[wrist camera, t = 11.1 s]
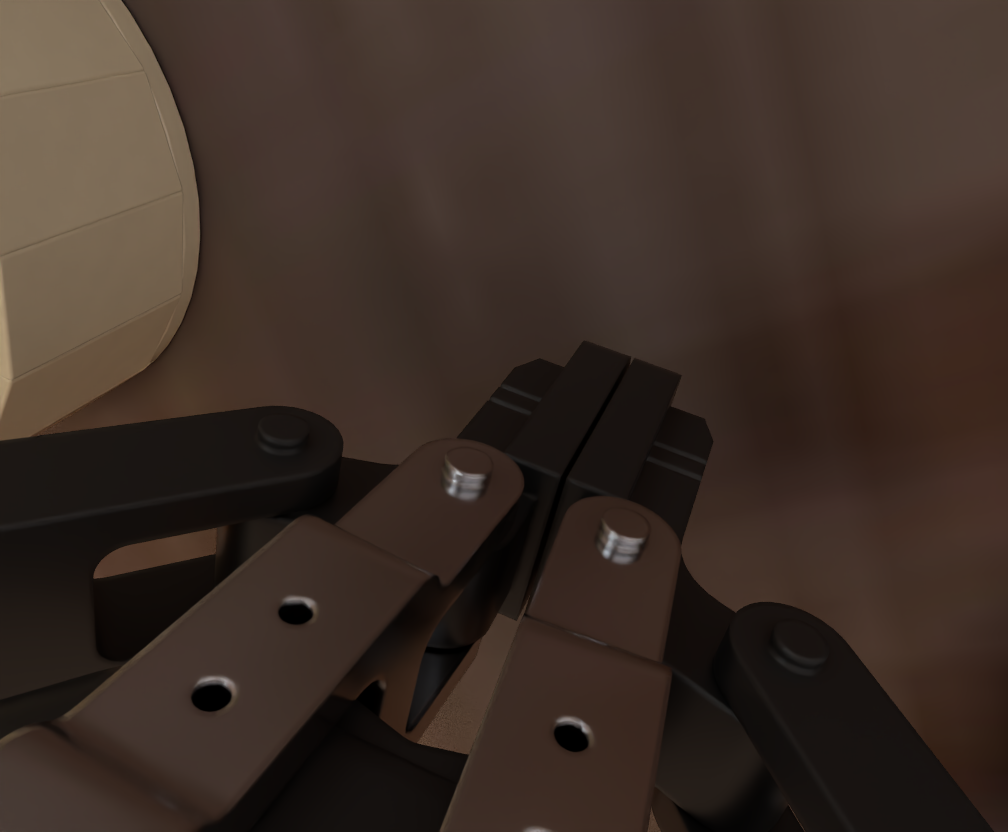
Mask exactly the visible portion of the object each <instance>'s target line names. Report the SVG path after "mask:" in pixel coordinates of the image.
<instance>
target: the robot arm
mask: <svg viewBox="0 0 1008 832" xmlns="http://www.w3.org/2000/svg"><path fill="white" fill-rule="evenodd" d="M630 361H631V357H630V356H627V355H624V354H621V353H619V352H616V351H613V350H610V349H608V348H605V347H602V346H599V345H596V344H594V343H591V342H588V341H585V340H584V341H583V342H582V344H581V345H580V346H579V348H578V349H577V351H576V352H575V353H574V355H573V356H572V357H571V359H570V360H569V362H568V363H567V364H566V366H565V367H562V366H559V365H556V364H553V363H551V362H548V361H545V360H542V359H540V358H539V359H537V360H534V361H531V362H529V363H526V364H523V365H521V366H518V367H515V368H514V369H513V370H512V372H511V373H510V374H509V375H508V377H507V378H506V379H505V380H504V381H503V383H502V384H501V387H498V389H497V390H496V391H495V392H494V393H493V395H492V396H491V397H490V400H489V401H487V402H486V403H485V404H484V405H483V407H482V408H481V409H480V410H479V411H478V413H477V414H476V415H475V416H474V417H473V419H472V420H471V421H470V422H469V423H468V425H467V426H466V427H465V428H464V429H463V431H462V432H461V433H460V434H459V435H458V437H457V438H446V439H439V440H434V441H431V442H428V443H426V444H424V445H422V446H420V447H419V448H418V449H416V450H415V451H414V452H413V453H412V454H411V455H410V456H409V457H408V458H406V459H405V460H404V461H403V462H402V463H401V464H400V465H388V464H380V463H374V462H368V461H362V460H357V459H351V458H345V457H342V452H343V439H342V436H341V434H340V432H339V430H338V429H337V428H336V427H335V426H334V425H333V424H332V423H331V422H329V421H328V420H327V419H325V418H323V417H322V416H320V415H318V414H315V413H313V412H310V411H307V410H304V409H299V408H295V407H287V406H265V407H256V408H249V409H241V410H233V411H225V412H218V413H210V414H202V415H194V416H187V417H179V418H171V419H164V420H156V421H148V422H140V423H133V424H125V425H117V426H109V427H102V428H94V429H86V430H79V431H71V432H63V433H55V434H48V435H40V436H32V437H24V438H17V439H9V440H1V441H0V832H647V831H648V824H649V818H650V812H651V806H652V811H653V814H654V816H655V819H656V821H657V824H658V826H659V828H660V830H661V832H804V830H805V832H994V831H993V830H992V828H991V827H990V826H989V825H988V823H987V822H986V821H985V819H984V818H983V817H982V816H981V814H980V813H979V812H978V810H977V809H976V808H975V807H974V805H973V804H972V803H971V801H970V800H969V799H968V798H967V796H966V795H965V794H964V792H963V791H962V790H961V789H960V787H959V786H958V785H957V783H956V782H955V781H954V780H953V778H952V777H951V776H950V774H949V773H948V772H947V771H946V769H945V768H944V767H943V765H942V764H941V763H940V762H939V760H938V759H937V758H936V756H935V755H934V754H933V753H932V751H931V750H930V749H929V747H928V746H927V745H926V744H925V742H924V741H923V740H922V738H921V737H920V736H919V735H918V733H917V732H916V731H915V729H914V728H913V727H912V726H911V724H910V723H909V722H908V720H907V719H906V718H905V717H904V715H903V714H902V713H901V711H900V710H899V709H898V708H897V706H896V705H895V704H894V702H893V701H892V700H891V699H890V697H889V696H888V695H887V693H886V692H885V691H884V690H883V688H882V687H881V686H880V684H879V683H878V682H877V681H876V679H875V678H874V677H873V675H872V674H871V673H870V672H869V670H868V669H867V668H866V666H865V665H864V664H863V663H862V661H861V660H860V659H859V657H858V656H857V655H856V654H855V652H854V651H853V650H852V648H851V647H850V646H849V645H848V643H847V642H846V641H845V640H844V639H843V638H842V637H841V636H840V635H839V634H838V633H837V632H836V631H835V630H834V629H833V628H831V627H830V626H829V625H827V624H826V623H825V622H823V621H822V620H820V619H818V618H817V617H815V616H813V615H811V614H809V613H807V612H805V611H803V610H801V609H798V608H795V607H792V606H789V605H785V604H781V603H774V602H758V603H753V604H749V605H747V606H744V607H743V608H741V609H740V610H738V611H737V613H735V612H734V611H732V610H731V609H729V608H728V607H726V606H725V605H723V604H722V603H720V602H719V601H718V600H716V599H715V598H714V597H712V596H711V595H710V594H708V593H707V592H706V591H705V590H704V589H703V588H702V587H701V586H700V585H699V584H698V583H697V582H696V581H695V580H694V578H693V577H692V576H691V574H690V573H689V571H688V570H687V568H686V565H685V563H684V561H683V558H682V554H681V544H682V539H683V536H684V533H685V530H686V527H687V523H688V520H689V517H690V514H691V511H692V508H693V504H694V501H695V498H696V495H697V492H698V489H699V485H700V482H701V479H702V476H703V473H704V470H705V466H706V463H707V460H708V457H709V454H710V451H711V447H712V444H713V439H712V436H711V434H710V431H709V429H708V426H707V424H706V421H705V419H704V418H701V417H698V416H695V415H693V414H690V413H687V412H685V411H682V410H679V409H676V408H674V407H671V404H672V401H673V399H674V396H675V393H676V390H677V388H678V385H679V382H680V379H681V376H682V375H680V374H678V373H675V372H672V371H669V370H666V369H664V368H661V367H658V366H655V365H653V364H650V363H647V362H644V361H641V360H639V359H636V358H634V360H633V361H632V363H631V365H630ZM629 365H630V367H629ZM212 528H217V540H216V554H213V555H209V556H204V557H199V558H195V559H190V560H185V561H181V562H176V563H171V564H167V565H162V566H157V567H153V568H148V569H143V570H138V571H134V572H129V573H124V574H120V575H115V576H110V577H106V578H97V579H93V574H94V571H95V569H96V567H97V565H98V564H99V562H100V561H101V560H102V559H103V558H104V557H105V556H107V555H108V554H109V553H111V552H112V551H114V550H116V549H118V548H121V547H124V546H127V545H131V544H136V543H141V542H146V541H151V540H156V539H162V538H167V537H172V536H177V535H182V534H187V533H192V532H197V531H202V530H207V529H212ZM529 596H530V597H529ZM528 598H529V601H528V604H527V607H526V610H525V613H524V615H523V617H522V619H521V622H520V624H519V627H518V629H517V632H516V635H515V637H514V640H513V642H512V645H511V648H510V650H509V653H508V655H507V658H506V660H505V663H504V666H503V668H502V671H501V673H500V676H499V679H498V681H497V684H496V686H495V689H494V691H493V694H492V697H491V699H490V702H489V704H488V707H487V710H486V712H485V715H484V717H483V720H482V723H481V725H480V728H479V730H478V733H477V735H476V738H475V741H474V743H473V746H472V748H471V751H470V754H469V755H467V754H462V753H458V752H453V751H448V750H444V749H439V748H435V747H430V746H426V745H421V744H418V743H417V742H418V741H419V739H420V738H421V736H422V735H423V733H424V732H425V730H426V729H427V728H428V726H429V725H430V723H431V722H432V720H433V719H434V717H435V716H436V714H437V713H438V711H439V710H440V709H441V707H442V706H443V704H444V703H445V701H446V700H447V698H448V697H449V695H450V694H451V692H452V691H453V690H454V688H455V687H456V685H457V684H458V682H459V681H460V679H461V678H462V676H463V675H464V673H465V672H466V671H467V669H468V668H469V666H470V665H471V663H472V662H473V660H474V659H475V657H476V655H477V653H478V649H479V646H480V642H481V639H482V637H483V636H484V635H485V634H486V632H487V631H488V629H489V628H490V626H491V624H492V622H493V621H494V619H495V617H496V615H497V613H500V614H502V615H505V616H507V617H509V618H512V619H514V620H516V621H517V619H518V617H519V615H520V613H521V611H522V610H523V608H524V606H525V604H526V602H527V600H528ZM788 804H789V805H790V807H791V809H792V810H793V812H794V814H795V815H796V817H797V818H798V820H799V822H800V823H801V825H802V827H803V828H804V830H803V829H802V827H801V825H800V824H799V822H798V820H797V819H796V817H795V815H794V814H793V812H792V810H791V809H790V807H789V805H788Z"/></svg>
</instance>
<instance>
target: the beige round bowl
mask: <svg viewBox="0 0 1008 832" xmlns="http://www.w3.org/2000/svg"><path fill="white" fill-rule="evenodd" d="M199 247H200V212H199V198H198V191H197V184H196V178H195V171H194V165H193V161H192V157H191V153H190V149H189V145H188V141H187V137H186V133H185V129H184V126H183V123H182V120H181V117H180V115H179V112H178V109H177V106H176V103H175V101H174V98H173V95H172V92H171V90H170V87H169V85H168V83H167V81H166V79H165V76H164V74H163V72H162V70H161V68H160V66H159V64H158V62H157V59H156V57H155V55H154V53H153V51H152V49H151V47H150V45H149V44H148V42H147V40H146V39H145V37H144V35H143V34H142V32H141V30H140V28H139V27H138V25H137V23H136V22H135V20H134V18H133V17H132V15H131V13H130V11H129V10H128V9H127V7H126V6H125V5H124V3H123V2H122V0H0V441H1V440H9V439H17V438H24V437H32V436H37V435H39V434H40V433H42V432H44V431H45V430H47V429H49V428H51V427H52V426H54V425H56V424H57V423H59V422H61V421H62V420H64V419H66V418H67V417H69V416H71V415H72V414H74V413H76V412H78V411H79V410H81V409H83V408H84V407H86V406H88V405H89V404H91V403H93V402H94V401H96V400H97V399H99V398H101V397H102V396H104V395H105V394H107V393H108V392H110V391H112V390H113V389H115V388H116V387H118V386H119V385H121V384H123V383H124V382H126V381H128V380H130V379H131V378H133V377H135V376H136V375H138V374H139V373H140V372H141V371H143V370H144V369H146V368H147V367H148V366H149V365H150V364H152V363H153V362H154V361H155V360H156V358H157V357H158V356H159V355H160V354H161V353H162V352H163V350H164V349H165V348H166V347H167V346H168V345H169V343H170V341H171V340H172V338H173V336H174V335H175V333H176V331H177V329H178V328H179V326H180V324H181V323H182V320H183V318H184V315H185V312H186V310H187V307H188V305H189V302H190V299H191V297H192V292H193V288H194V283H195V278H196V274H197V269H198V259H199Z"/></svg>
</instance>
